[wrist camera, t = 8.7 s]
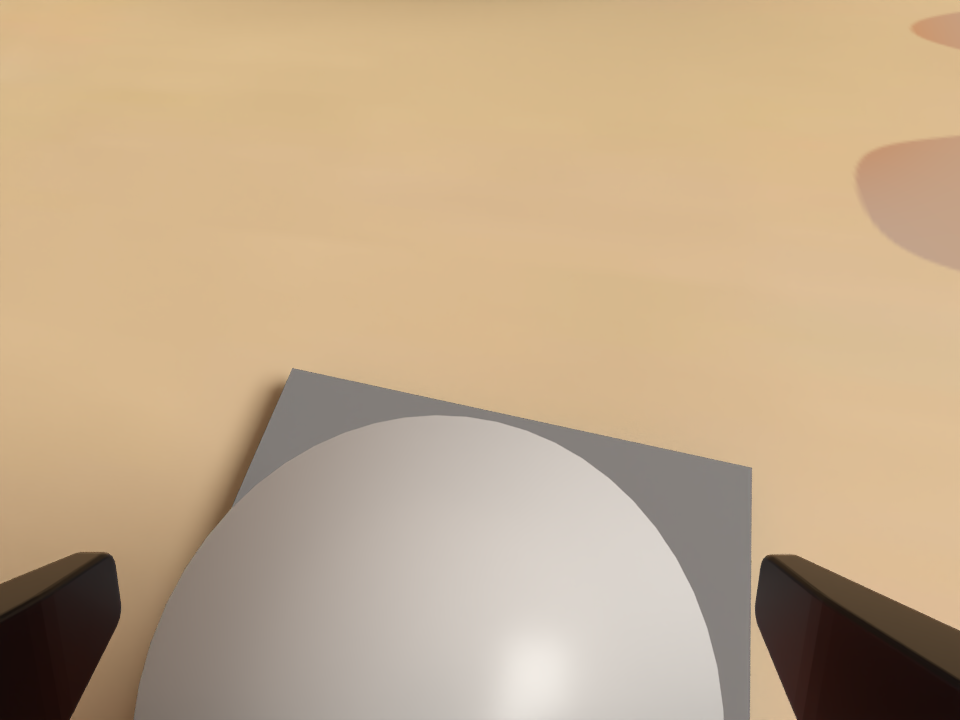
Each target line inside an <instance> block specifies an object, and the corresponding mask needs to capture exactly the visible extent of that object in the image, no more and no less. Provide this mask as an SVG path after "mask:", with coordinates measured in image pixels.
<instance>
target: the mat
mask: <svg viewBox="0 0 960 720" xmlns="http://www.w3.org/2000/svg"><path fill="white" fill-rule="evenodd" d="M433 415H441V416H462V417H471V418H477V419H483V420H489V421H495V422H499V423H503V424H506V425H509V426H513V427H516V428H520V429H523V430H526V431H529V432H531V433H533V434H536V435H538V436H540V437H543V438H545V439H547V440H550V441H552V442H555V443H556V444H558V445H560V446H562V447H563V448H565V449H567V450H569V451H570V452H572V453H574V454H576V455H577V456H579V457H581V458H583V459H584V460H585V461H587V462H588V463H589V464H591V465H592V466H593V467H595V468H596V469H597V470H599V471H600V472H601V473H603V474H604V475H605V476H607V477H608V478H609V479H610V480H612V481H613V482H614V483H615V484H616V485H617V486H618V487H619V488H620V489H621V490H622V491H623V492H624V493H625V494H626V495H628V496H629V497H630V498H631V499H632V500H633V501H634V502H635V503H636V505H637V506H638V507H639V508H640V509H641V511H642V512H643V513H644V514H645V515H646V516H647V518H648V519H649V520H650V521H651V522H652V524H653V525H654V526H655V527H656V528H657V530H658V531H659V533H660V534H661V536H662V537H663V539H664V540H665V542H666V543H667V545H668V546H669V548H670V549H671V551H672V552H673V554H674V555H675V557H676V559H677V561H678V562H679V564H680V566H681V568H682V570H683V572H684V574H685V576H686V578H687V580H688V582H689V584H690V586H691V588H692V590H693V592H694V594H695V597H696V600H697V602H698V605H699V607H700V610H701V613H702V615H703V618H704V621H705V623H706V626H707V629H708V633H709V636H710V640H711V644H712V648H713V652H714V656H715V660H716V664H717V668H718V675H719V682H720V689H721V696H722V704H723V715H724V720H750V624H751V505H752V468H750V467H746V466H741V465H737V464H732V463H727V462H723V461H718V460H714V459H709V458H704V457H700V456H695V455H690V454H686V453H681V452H677V451H672V450H667V449H663V448H658V447H654V446H649V445H644V444H640V443H635V442H630V441H626V440H621V439H617V438H612V437H607V436H603V435H598V434H594V433H589V432H584V431H580V430H575V429H571V428H566V427H561V426H557V425H552V424H547V423H543V422H538V421H534V420H529V419H524V418H520V417H515V416H511V415H506V414H501V413H497V412H492V411H488V410H483V409H478V408H474V407H469V406H464V405H460V404H455V403H451V402H446V401H441V400H437V399H432V398H428V397H423V396H418V395H414V394H409V393H404V392H400V391H395V390H391V389H386V388H381V387H377V386H372V385H368V384H363V383H358V382H354V381H349V380H345V379H340V378H335V377H331V376H326V375H321V374H317V373H312V372H308V371H303V370H298V369H294V368H292V371H291V373H290V375H289V378H288V380H287V382H286V384H285V387H284V389H283V391H282V394H281V396H280V398H279V400H278V403H277V405H276V407H275V410H274V412H273V414H272V416H271V419H270V421H269V423H268V426H267V428H266V430H265V432H264V435H263V437H262V439H261V442H260V444H259V446H258V448H257V451H256V453H255V455H254V458H253V460H252V462H251V464H250V467H249V469H248V471H247V474H246V476H245V478H244V480H243V483H242V485H241V487H240V490H239V492H238V494H237V496H236V499H235V501H234V503H233V506H234V505H235V504H236V503H238V502H239V501H240V500H241V499H242V498H243V497H244V496H245V495H246V494H247V493H248V492H249V491H250V490H251V489H252V488H254V487H255V486H256V485H257V484H258V483H259V482H261V481H262V480H263V479H265V478H266V477H267V476H269V475H270V474H271V473H273V472H274V471H275V470H277V469H278V468H279V467H281V466H282V465H283V464H285V463H286V462H288V461H290V460H291V459H293V458H295V457H296V456H298V455H300V454H301V453H303V452H305V451H307V450H308V449H310V448H312V447H313V446H315V445H318V444H320V443H322V442H324V441H327V440H329V439H331V438H333V437H336V436H338V435H340V434H342V433H345V432H348V431H351V430H354V429H358V428H361V427H364V426H367V425H370V424H374V423H378V422H384V421H389V420H394V419H399V418H405V417H418V416H433ZM233 506H232V507H233Z"/></svg>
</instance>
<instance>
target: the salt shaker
mask: <svg viewBox="0 0 960 720" xmlns="http://www.w3.org/2000/svg"><path fill="white" fill-rule="evenodd" d="M134 720H724V715H723V704H722V696H721V689H720V682H719V675H718V668H717V664H716V660H715V656H714V652H713V648H712V644H711V640H710V636H709V633H708V629H707V626H706V623H705V621H704V618H703V615H702V613H701V610H700V607H699V605H698V602H697V600H696V597H695V594H694V592H693V590H692V588H691V586H690V584H689V582H688V580H687V578H686V576H685V574H684V572H683V570H682V568H681V566H680V564H679V562H678V561H677V559H676V557H675V555H674V554H673V552H672V551H671V549H670V548H669V546H668V545H667V543H666V542H665V540H664V539H663V537H662V536H661V534H660V533H659V531H658V530H657V528H656V527H655V526H654V525H653V524H652V522H651V521H650V520H649V519H648V518H647V516H646V515H645V514H644V513H643V512H642V511H641V509H640V508H639V507H638V506H637V505H636V503H635V502H634V501H633V500H632V499H631V498H630V497H629V496H628V495H626V494H625V493H624V492H623V491H622V490H621V489H620V488H619V487H618V486H617V485H616V484H615V483H614V482H613V481H612V480H610V479H609V478H608V477H607V476H605V475H604V474H603V473H601V472H600V471H599V470H597V469H596V468H595V467H593V466H592V465H591V464H589V463H588V462H587V461H585V460H584V459H583V458H581V457H579V456H577V455H576V454H574V453H572V452H570V451H569V450H567V449H565V448H563V447H562V446H560V445H558V444H556V443H555V442H552V441H550V440H547V439H545V438H543V437H540V436H538V435H536V434H533V433H531V432H529V431H526V430H523V429H520V428H516V427H513V426H509V425H506V424H503V423H499V422H495V421H489V420H483V419H477V418H471V417H462V416H441V415H433V416H418V417H405V418H399V419H394V420H389V421H384V422H378V423H374V424H370V425H367V426H364V427H361V428H358V429H354V430H351V431H348V432H345V433H342V434H340V435H338V436H336V437H333V438H331V439H329V440H327V441H324V442H322V443H320V444H318V445H315V446H313V447H312V448H310V449H308V450H307V451H305V452H303V453H301V454H300V455H298V456H296V457H295V458H293V459H291V460H290V461H288V462H286V463H285V464H283V465H282V466H281V467H279V468H278V469H277V470H275V471H274V472H273V473H271V474H270V475H269V476H267V477H266V478H265V479H263V480H262V481H261V482H259V483H258V484H257V485H256V486H255V487H254V488H252V489H251V490H250V491H249V492H248V493H247V494H246V495H245V496H244V497H243V498H242V499H241V500H240V501H239V502H238V503H236V504H235V505H234V506H233V507H232V508H231V509H230V510H229V512H228V513H227V514H226V515H225V516H224V517H223V519H222V520H221V521H220V522H219V523H218V524H217V526H216V527H215V528H214V529H213V530H212V531H211V533H210V534H209V535H208V536H207V537H206V539H205V540H204V542H203V543H202V545H201V546H200V548H199V549H198V551H197V552H196V554H195V555H194V556H193V558H192V559H191V561H190V562H189V564H188V565H187V567H186V568H185V570H184V572H183V574H182V575H181V577H180V579H179V581H178V583H177V585H176V587H175V589H174V590H173V592H172V594H171V596H170V598H169V600H168V602H167V604H166V606H165V608H164V611H163V613H162V616H161V618H160V621H159V623H158V626H157V628H156V631H155V633H154V636H153V638H152V641H151V643H150V647H149V651H148V654H147V658H146V661H145V665H144V669H143V672H142V676H141V679H140V683H139V688H138V695H137V701H136V707H135V713H134Z"/></svg>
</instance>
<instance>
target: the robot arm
mask: <svg viewBox="0 0 960 720" xmlns="http://www.w3.org/2000/svg"><path fill="white" fill-rule="evenodd" d="M120 613H121V601H120V594H119V587H118V579H117V572H116V565H115V561H114V559H113V557H112V556H111V555H110V554H109V553H105V552H80V553H75V554H73V555H70V556H68V557H65V558H63V559H60V560H58V561H56V562H53V563H51V564H48V565H46V566H43V567H41V568H38V569H36V570H33V571H31V572H29V573H26V574H24V575H21V576H19V577H16V578H14V579H11V580H9V581H6V582H4V583H2V584H0V720H70V718H71V716H72V714H73V712H74V710H75V708H76V706H77V704H78V702H79V700H80V698H81V696H82V694H83V692H84V690H85V688H86V686H87V684H88V682H89V680H90V678H91V676H92V674H93V672H94V670H95V668H96V666H97V664H98V662H99V660H100V658H101V656H102V654H103V652H104V650H105V649H106V647H107V645H108V643H109V641H110V639H111V637H112V635H113V633H114V631H115V629H116V627H117V624H118V621H119V618H120ZM755 615H756V620H757V624H758V627H759V629H760V632H761V634H762V637H763V639H764V641H765V644H766V646H767V649H768V651H769V653H770V656H771V658H772V661H773V663H774V666H775V668H776V670H777V673H778V675H779V678H780V680H781V682H782V685H783V687H784V690H785V692H786V695H787V697H788V699H789V702H790V704H791V707H792V709H793V711H794V714H795V716H796V718H797V720H960V631H959V630H957V629H955V628H953V627H951V626H948V625H946V624H944V623H942V622H940V621H938V620H935V619H933V618H931V617H929V616H927V615H925V614H922V613H920V612H918V611H916V610H914V609H912V608H909V607H907V606H905V605H903V604H901V603H899V602H897V601H894V600H892V599H890V598H888V597H886V596H884V595H881V594H879V593H877V592H875V591H873V590H871V589H868V588H866V587H864V586H862V585H860V584H858V583H855V582H853V581H851V580H849V579H847V578H845V577H842V576H840V575H838V574H836V573H834V572H832V571H829V570H827V569H825V568H823V567H821V566H819V565H816V564H814V563H812V562H810V561H808V560H806V559H803V558H801V557H799V556H797V555H767V556H766V557H765V558H764V559H763V561H762V563H761V568H760V575H759V582H758V589H757V596H756V603H755Z"/></svg>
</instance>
